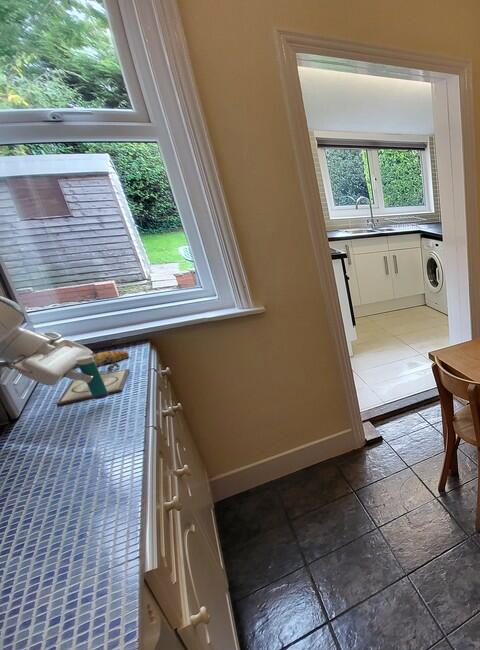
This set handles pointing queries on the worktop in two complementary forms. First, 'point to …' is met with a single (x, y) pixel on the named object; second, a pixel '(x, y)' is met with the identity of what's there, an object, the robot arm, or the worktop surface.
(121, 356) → the pastry
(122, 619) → the worktop surface
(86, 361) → the dot marker
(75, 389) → the drawing board
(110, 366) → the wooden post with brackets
